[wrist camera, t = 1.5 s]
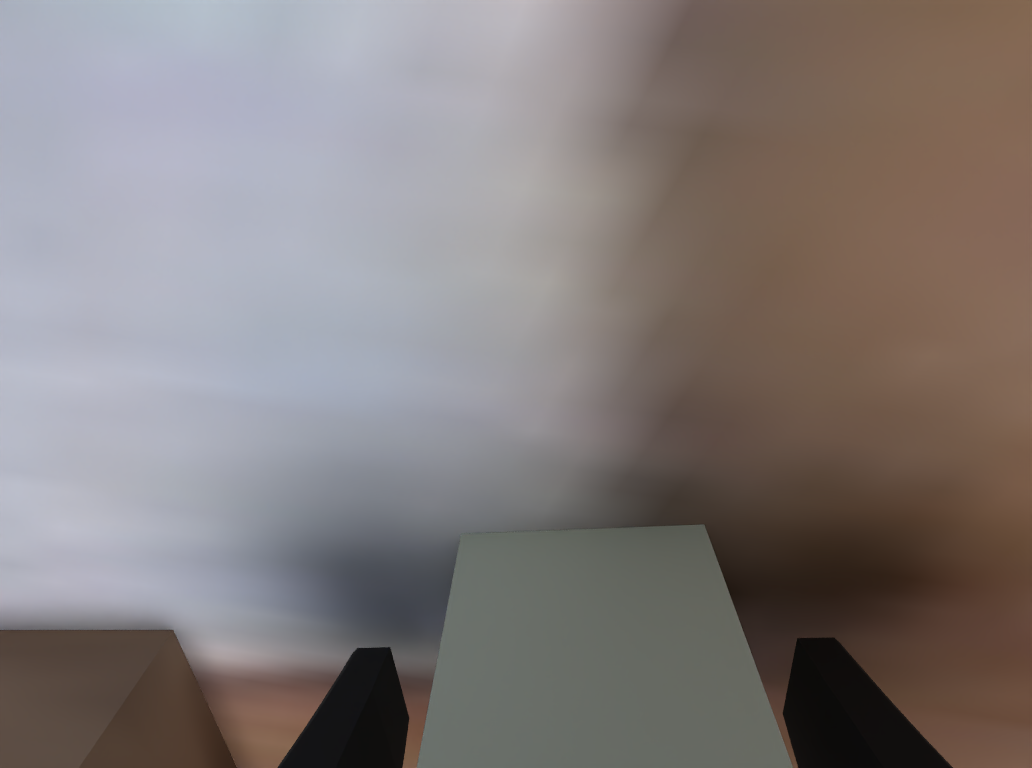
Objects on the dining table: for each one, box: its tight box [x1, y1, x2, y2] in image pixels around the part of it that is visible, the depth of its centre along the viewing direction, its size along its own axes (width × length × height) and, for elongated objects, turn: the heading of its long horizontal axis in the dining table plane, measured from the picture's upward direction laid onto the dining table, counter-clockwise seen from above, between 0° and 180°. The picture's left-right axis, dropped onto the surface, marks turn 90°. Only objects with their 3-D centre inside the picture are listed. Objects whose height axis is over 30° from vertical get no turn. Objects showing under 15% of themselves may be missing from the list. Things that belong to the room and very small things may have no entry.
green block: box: [417, 525, 793, 768], centre depth 10 cm, size 4×4×5 cm
